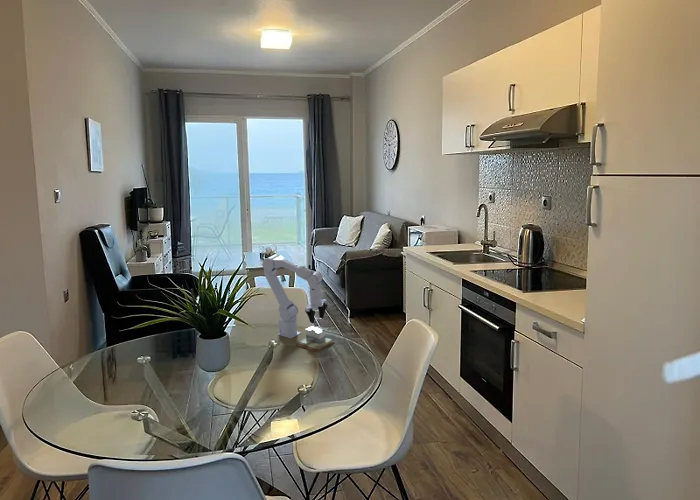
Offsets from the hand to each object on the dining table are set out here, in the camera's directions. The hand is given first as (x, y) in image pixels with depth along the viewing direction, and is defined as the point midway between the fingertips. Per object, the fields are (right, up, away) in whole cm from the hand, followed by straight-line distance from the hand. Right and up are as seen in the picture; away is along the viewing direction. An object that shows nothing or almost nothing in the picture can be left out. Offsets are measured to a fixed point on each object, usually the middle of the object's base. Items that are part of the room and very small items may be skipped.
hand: (316, 320), depth 266 cm
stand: (0, -12, -4) cm, 12 cm away
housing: (0, -10, -4) cm, 11 cm away
